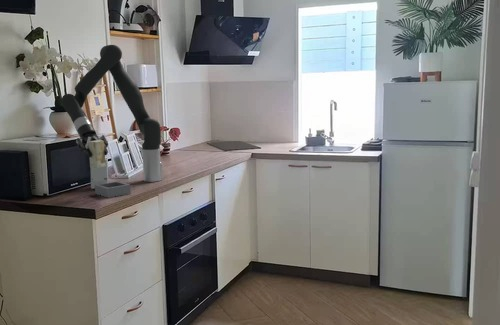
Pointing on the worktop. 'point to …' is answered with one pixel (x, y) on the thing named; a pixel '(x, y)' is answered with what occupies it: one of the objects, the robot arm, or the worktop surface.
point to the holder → (112, 189)
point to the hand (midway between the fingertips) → (98, 155)
